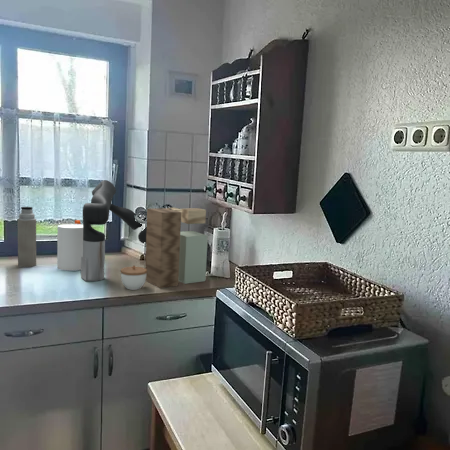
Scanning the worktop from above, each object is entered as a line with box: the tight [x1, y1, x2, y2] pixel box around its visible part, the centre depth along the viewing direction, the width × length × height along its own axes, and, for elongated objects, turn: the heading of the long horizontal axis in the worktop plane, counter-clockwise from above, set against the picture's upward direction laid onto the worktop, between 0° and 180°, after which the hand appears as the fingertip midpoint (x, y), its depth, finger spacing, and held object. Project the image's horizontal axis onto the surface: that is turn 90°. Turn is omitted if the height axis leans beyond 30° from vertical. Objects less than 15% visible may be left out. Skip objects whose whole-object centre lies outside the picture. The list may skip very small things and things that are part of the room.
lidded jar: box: [120, 265, 147, 291], centre depth 187 cm, size 11×11×9 cm
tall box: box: [144, 207, 182, 289], centre depth 195 cm, size 9×14×32 cm, turn 35°
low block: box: [178, 230, 209, 285], centre depth 204 cm, size 11×13×21 cm
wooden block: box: [166, 207, 207, 225], centre depth 207 cm, size 24×9×6 cm, turn 35°
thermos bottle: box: [17, 206, 37, 268], centre depth 212 cm, size 8×8×28 cm
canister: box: [56, 223, 83, 271], centre depth 214 cm, size 14×14×20 cm
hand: (175, 210), depth 213 cm, fingers closed on wooden block, 4 cm apart
